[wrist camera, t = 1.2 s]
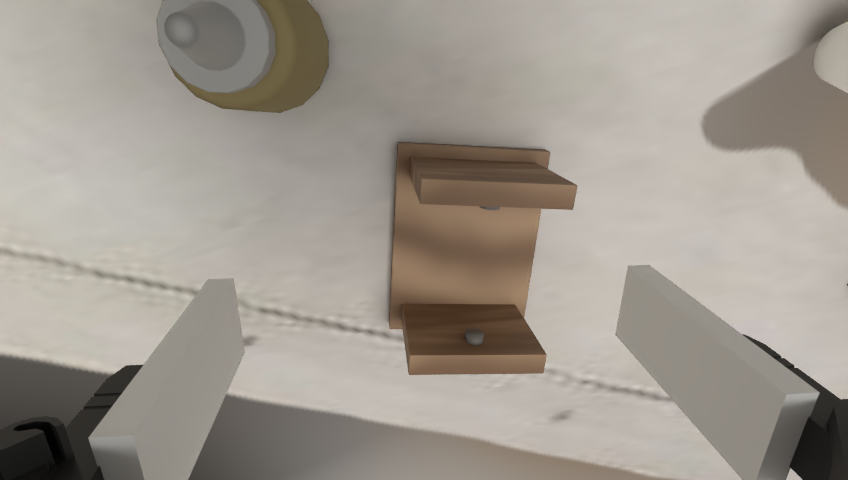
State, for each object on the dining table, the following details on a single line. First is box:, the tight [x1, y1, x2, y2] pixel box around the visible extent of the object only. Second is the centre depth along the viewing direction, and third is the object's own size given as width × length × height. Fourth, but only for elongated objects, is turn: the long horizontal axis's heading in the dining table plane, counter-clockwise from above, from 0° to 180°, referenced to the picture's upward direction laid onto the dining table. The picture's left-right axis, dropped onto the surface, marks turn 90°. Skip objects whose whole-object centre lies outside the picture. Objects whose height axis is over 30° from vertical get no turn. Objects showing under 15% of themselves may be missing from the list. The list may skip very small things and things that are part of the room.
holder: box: [389, 142, 577, 375], centre depth 36 cm, size 16×12×9 cm
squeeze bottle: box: [157, 0, 328, 113], centre depth 25 cm, size 8×8×18 cm
